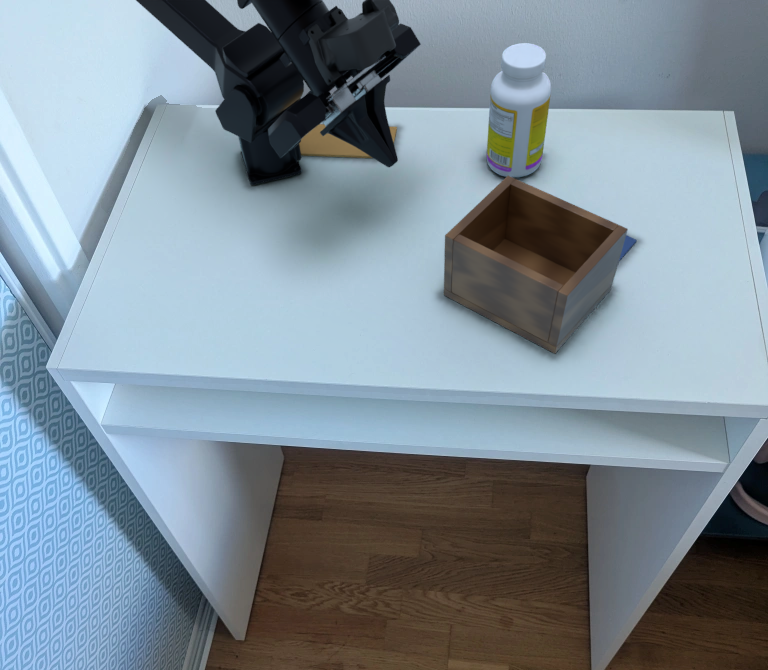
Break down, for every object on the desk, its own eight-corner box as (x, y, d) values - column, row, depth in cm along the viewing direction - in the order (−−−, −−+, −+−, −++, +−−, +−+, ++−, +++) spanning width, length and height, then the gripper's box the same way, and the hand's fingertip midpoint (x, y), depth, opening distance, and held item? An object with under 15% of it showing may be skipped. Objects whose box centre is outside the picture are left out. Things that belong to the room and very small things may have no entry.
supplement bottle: (538, 143, 93) (553, 35, 82) (543, 179, 90) (559, 71, 79) (484, 146, 94) (491, 38, 82) (487, 181, 90) (495, 74, 79)
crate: (443, 295, 82) (444, 235, 75) (501, 237, 86) (507, 175, 79) (554, 354, 77) (567, 295, 70) (611, 289, 81) (628, 228, 74)
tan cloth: (295, 155, 95) (295, 153, 94) (304, 125, 98) (304, 123, 97) (391, 159, 93) (390, 156, 93) (397, 128, 96) (397, 126, 96)
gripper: (268, 24, 64) (377, 186, 70) (403, -70, 71) (493, 86, 77) (223, 84, 74) (322, 222, 79) (347, -4, 80) (430, 130, 86)
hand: (393, 164), depth 80 cm, fingers closed
